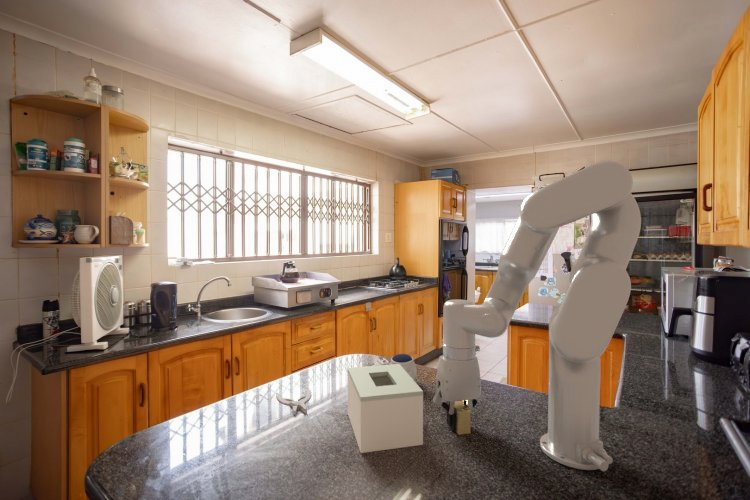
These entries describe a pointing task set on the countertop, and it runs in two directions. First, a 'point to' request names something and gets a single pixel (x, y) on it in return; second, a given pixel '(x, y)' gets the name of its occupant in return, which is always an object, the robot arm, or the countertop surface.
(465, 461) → the countertop surface
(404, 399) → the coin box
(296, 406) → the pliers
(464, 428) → the block
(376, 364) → the toy
